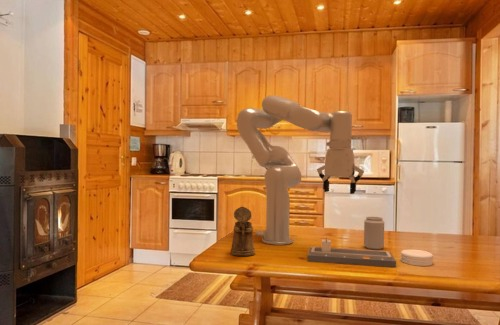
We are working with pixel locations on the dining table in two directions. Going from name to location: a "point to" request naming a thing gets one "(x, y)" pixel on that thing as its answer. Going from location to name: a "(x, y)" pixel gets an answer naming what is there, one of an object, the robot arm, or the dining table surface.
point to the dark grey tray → (352, 257)
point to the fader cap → (326, 245)
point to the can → (374, 233)
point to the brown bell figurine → (242, 234)
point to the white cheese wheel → (417, 257)
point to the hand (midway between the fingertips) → (339, 192)
